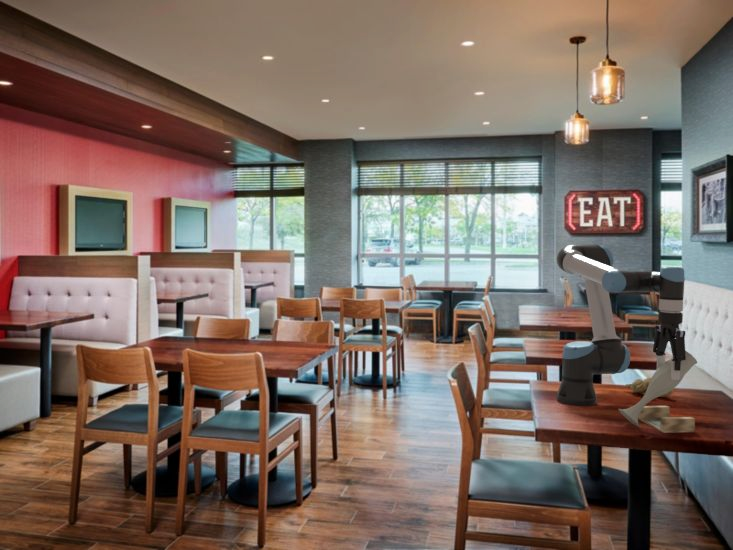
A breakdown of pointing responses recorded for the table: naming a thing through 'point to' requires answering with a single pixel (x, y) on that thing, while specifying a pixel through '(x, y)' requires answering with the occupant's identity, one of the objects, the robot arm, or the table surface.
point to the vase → (659, 386)
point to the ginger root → (643, 387)
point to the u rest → (666, 420)
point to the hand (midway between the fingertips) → (667, 376)
